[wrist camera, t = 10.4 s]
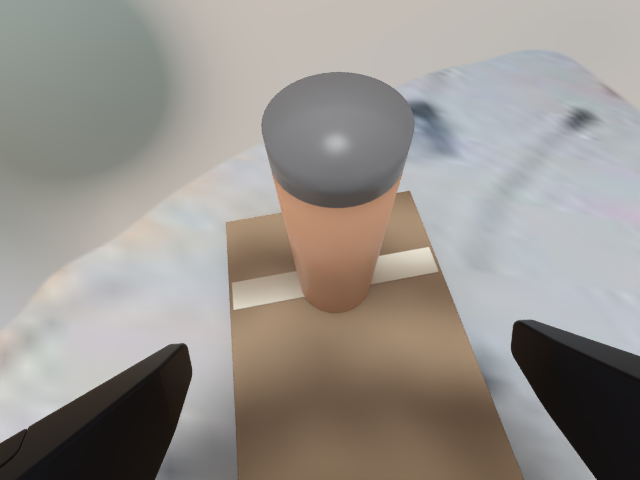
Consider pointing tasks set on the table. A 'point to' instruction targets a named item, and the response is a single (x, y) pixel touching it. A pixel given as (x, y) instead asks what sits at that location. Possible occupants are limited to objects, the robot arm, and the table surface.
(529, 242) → the table surface
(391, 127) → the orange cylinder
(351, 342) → the board
